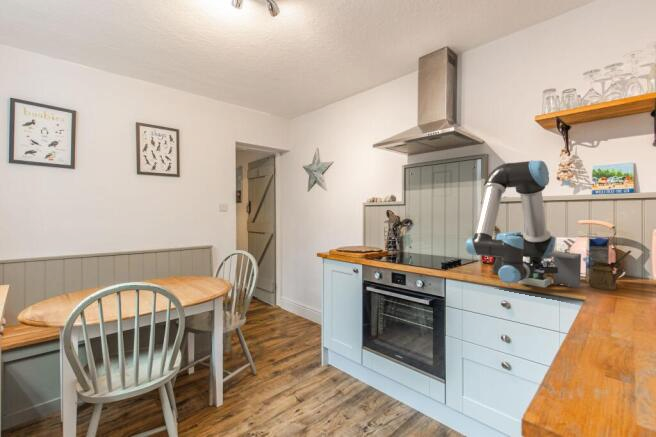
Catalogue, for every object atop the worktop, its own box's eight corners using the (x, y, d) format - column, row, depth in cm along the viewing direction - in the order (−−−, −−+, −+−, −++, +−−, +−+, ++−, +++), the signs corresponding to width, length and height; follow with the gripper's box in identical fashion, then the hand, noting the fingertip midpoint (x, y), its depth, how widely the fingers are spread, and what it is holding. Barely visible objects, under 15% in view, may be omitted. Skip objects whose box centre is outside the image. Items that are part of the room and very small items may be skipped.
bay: (546, 287, 138) (547, 253, 138) (553, 283, 145) (554, 251, 145) (573, 291, 130) (574, 256, 130) (580, 287, 137) (581, 253, 137)
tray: (518, 283, 145) (518, 276, 145) (526, 280, 152) (526, 273, 152) (544, 287, 137) (544, 280, 137) (551, 284, 144) (551, 277, 144)
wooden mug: (630, 293, 128) (631, 251, 128) (588, 287, 138) (589, 248, 138) (629, 289, 135) (631, 249, 134) (590, 284, 144) (591, 246, 144)
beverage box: (588, 283, 145) (589, 238, 144) (585, 279, 154) (586, 236, 153) (607, 286, 141) (609, 239, 140) (603, 281, 150) (604, 237, 149)
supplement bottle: (538, 284, 140) (539, 259, 140) (523, 281, 146) (523, 257, 146) (546, 283, 143) (547, 258, 143) (531, 280, 149) (531, 256, 149)
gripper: (490, 274, 142) (508, 269, 155) (555, 284, 123) (568, 277, 136) (491, 258, 142) (508, 254, 155) (555, 266, 123) (569, 261, 136)
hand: (537, 265), depth 146 cm, fingers open, 13 cm apart
